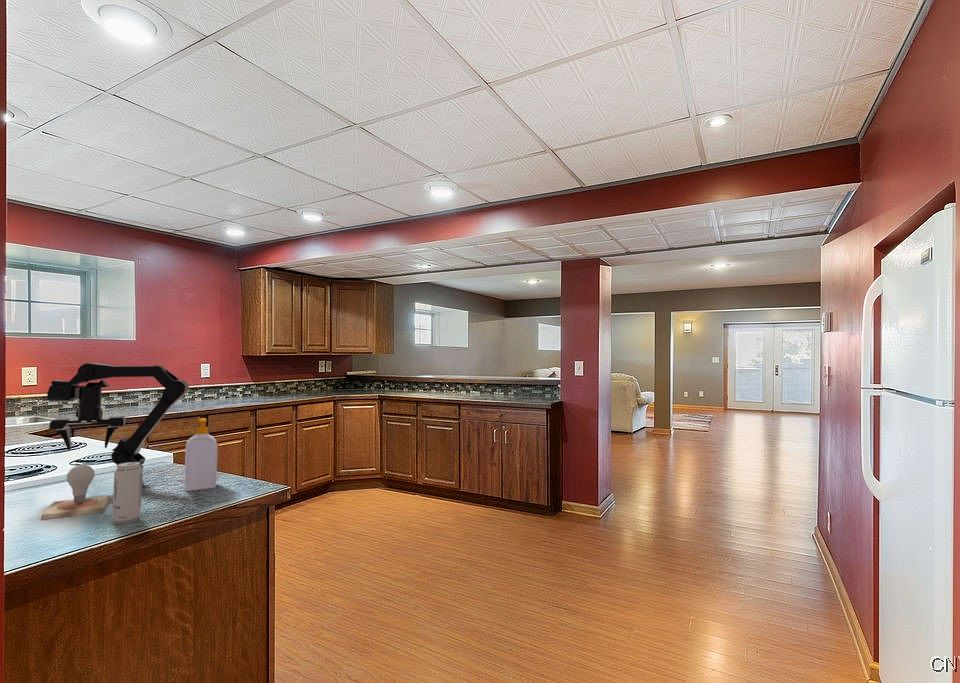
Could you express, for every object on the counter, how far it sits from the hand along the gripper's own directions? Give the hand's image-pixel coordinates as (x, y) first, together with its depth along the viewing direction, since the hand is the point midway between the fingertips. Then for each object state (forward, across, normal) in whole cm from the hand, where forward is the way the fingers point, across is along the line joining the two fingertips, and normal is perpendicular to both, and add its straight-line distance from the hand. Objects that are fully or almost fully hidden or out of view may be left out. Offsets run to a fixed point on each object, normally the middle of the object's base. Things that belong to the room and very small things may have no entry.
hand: (87, 449), depth 154 cm
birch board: (+13, -2, +24) cm, 27 cm away
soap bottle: (+13, -32, +14) cm, 37 cm away
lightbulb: (+12, -2, +24) cm, 27 cm away
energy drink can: (+13, -15, +42) cm, 47 cm away
